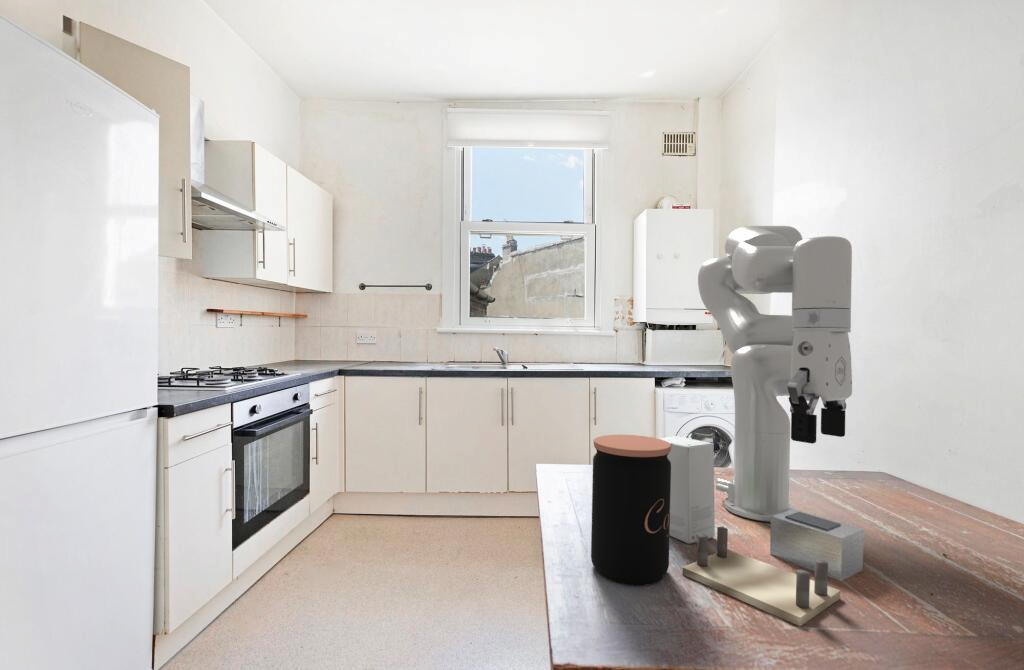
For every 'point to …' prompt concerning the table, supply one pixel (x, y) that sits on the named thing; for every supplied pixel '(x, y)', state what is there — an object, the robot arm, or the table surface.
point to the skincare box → (691, 488)
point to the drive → (817, 542)
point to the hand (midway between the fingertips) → (818, 438)
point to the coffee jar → (631, 509)
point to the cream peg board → (762, 581)
